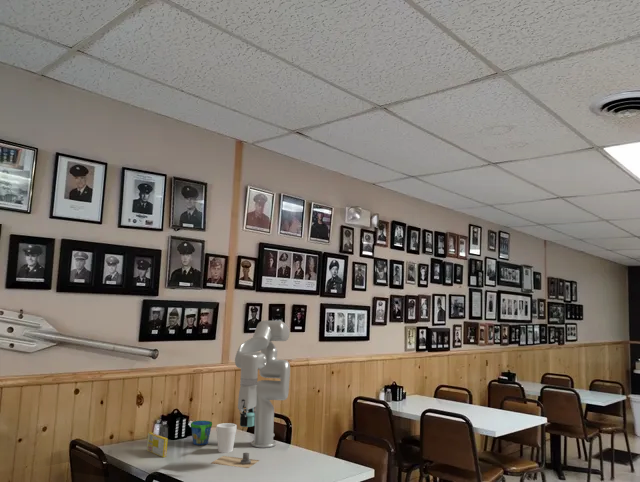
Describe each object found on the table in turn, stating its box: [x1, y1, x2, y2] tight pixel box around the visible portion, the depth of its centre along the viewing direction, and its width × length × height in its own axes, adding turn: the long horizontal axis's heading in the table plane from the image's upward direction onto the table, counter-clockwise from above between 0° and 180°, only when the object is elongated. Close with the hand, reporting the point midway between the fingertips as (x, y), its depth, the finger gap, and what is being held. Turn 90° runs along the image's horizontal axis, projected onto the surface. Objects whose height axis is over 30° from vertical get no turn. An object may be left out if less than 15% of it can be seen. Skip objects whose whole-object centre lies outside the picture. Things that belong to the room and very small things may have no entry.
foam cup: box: [215, 422, 238, 454], centre depth 247 cm, size 10×9×13 cm
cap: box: [241, 412, 255, 428], centre depth 231 cm, size 6×6×5 cm
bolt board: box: [210, 452, 261, 469], centre depth 230 cm, size 12×18×6 cm, turn 73°
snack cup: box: [190, 420, 213, 446], centre depth 264 cm, size 16×10×10 cm
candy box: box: [146, 431, 169, 458], centre depth 245 cm, size 16×2×8 cm, turn 45°
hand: (247, 423), depth 230 cm, fingers closed on cap, 6 cm apart
